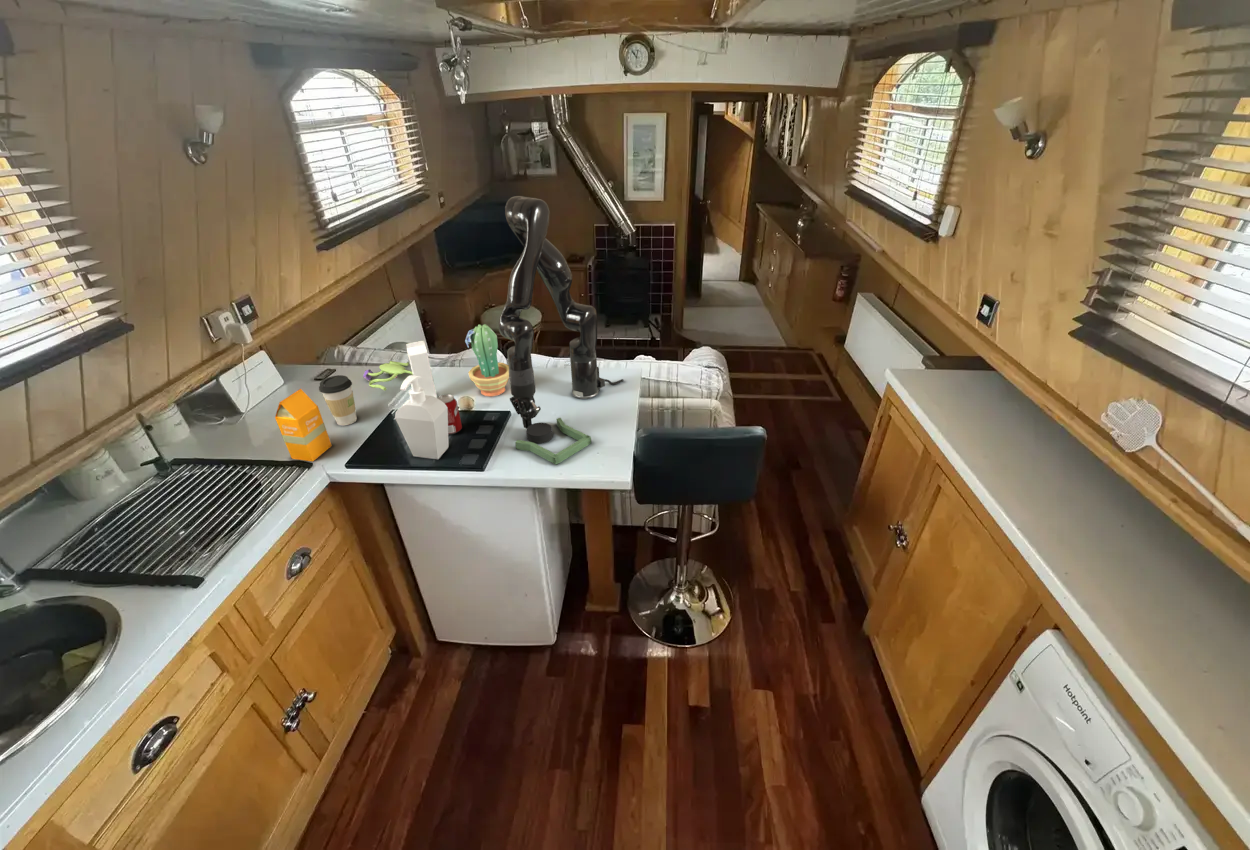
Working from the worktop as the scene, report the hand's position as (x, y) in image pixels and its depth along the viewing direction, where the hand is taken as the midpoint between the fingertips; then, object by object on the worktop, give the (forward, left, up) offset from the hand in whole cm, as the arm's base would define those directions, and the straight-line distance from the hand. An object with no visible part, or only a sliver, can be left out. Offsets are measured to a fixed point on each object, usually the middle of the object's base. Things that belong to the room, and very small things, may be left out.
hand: (527, 427), depth 179 cm
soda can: (+16, -20, -2) cm, 25 cm away
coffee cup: (+35, -53, -2) cm, 63 cm away
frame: (0, +13, -1) cm, 13 cm away
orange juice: (+51, -43, -2) cm, 66 cm away
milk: (+9, -45, -2) cm, 46 cm away
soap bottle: (+28, -14, -2) cm, 31 cm away
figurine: (+9, -67, -2) cm, 68 cm away
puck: (0, +6, -1) cm, 6 cm away
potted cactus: (-10, -32, -2) cm, 33 cm away
